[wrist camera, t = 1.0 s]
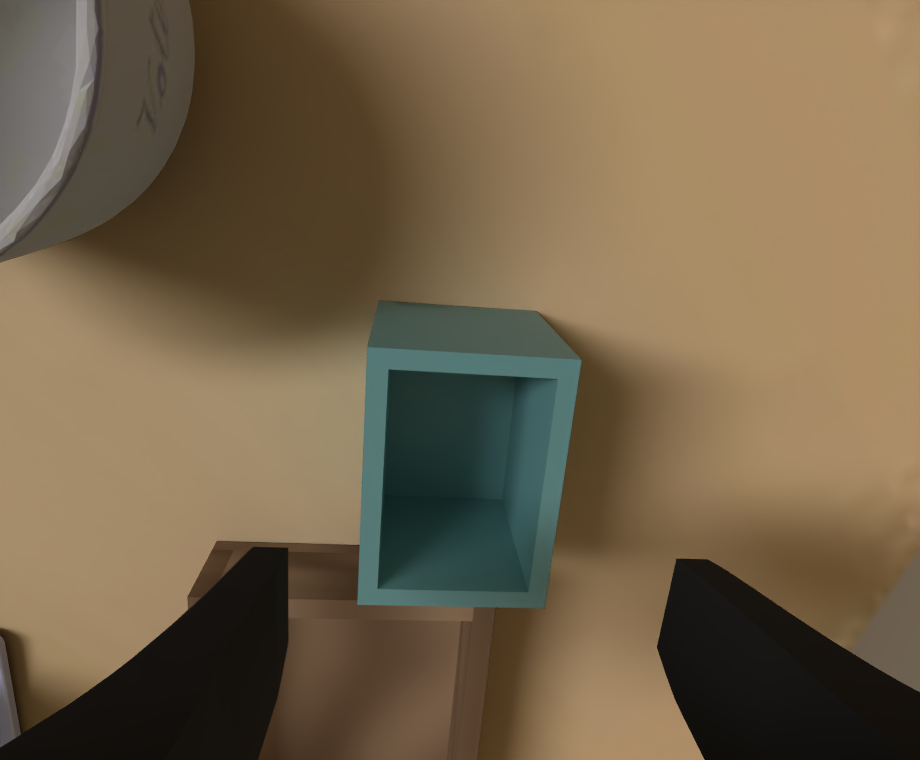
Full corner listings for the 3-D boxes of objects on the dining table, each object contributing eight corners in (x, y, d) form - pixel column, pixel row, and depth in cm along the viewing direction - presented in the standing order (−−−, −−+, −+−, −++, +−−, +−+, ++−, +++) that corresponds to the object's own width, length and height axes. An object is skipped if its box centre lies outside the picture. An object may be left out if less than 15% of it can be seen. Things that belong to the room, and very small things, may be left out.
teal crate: (370, 500, 21) (357, 604, 16) (378, 300, 19) (367, 347, 14) (512, 505, 22) (544, 608, 17) (536, 311, 20) (581, 360, 15)
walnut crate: (227, 786, 25) (203, 865, 22) (216, 541, 22) (187, 597, 19) (459, 784, 26) (465, 859, 23) (485, 548, 22) (496, 603, 20)
